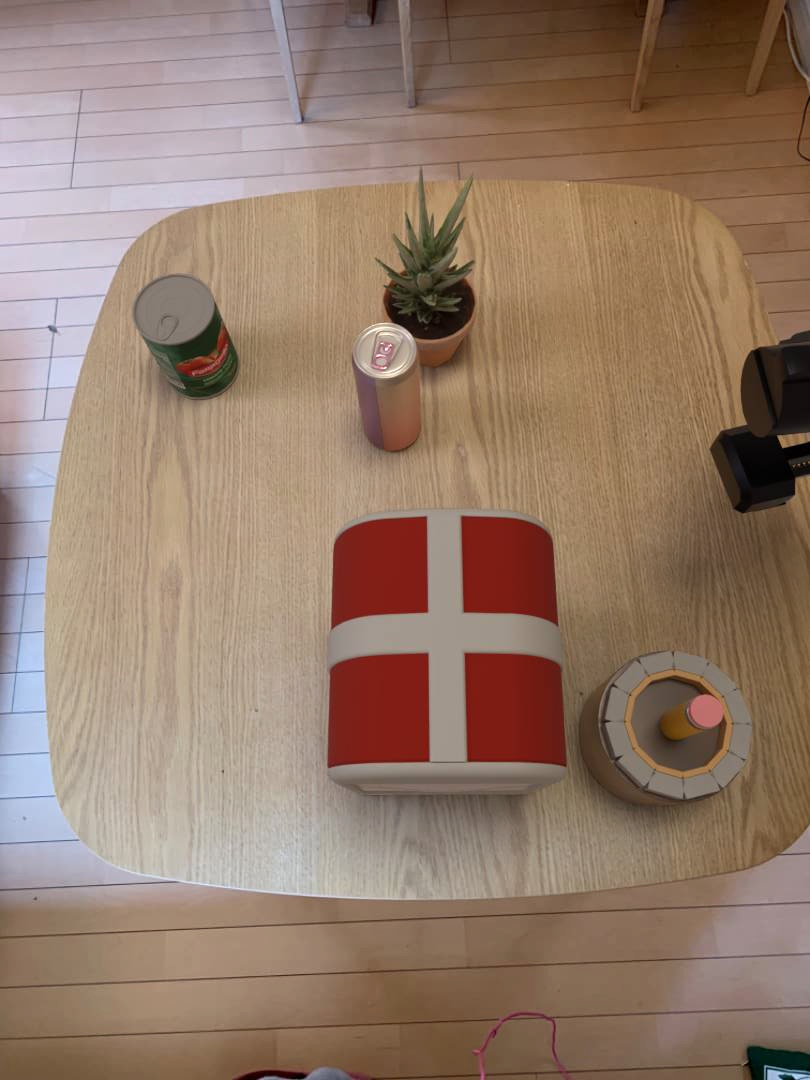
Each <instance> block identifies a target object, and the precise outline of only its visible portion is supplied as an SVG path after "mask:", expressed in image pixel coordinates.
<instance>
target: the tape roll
mask: <svg viewBox="0 0 810 1080" xmlns="http://www.w3.org/2000/svg"><path fill="white" fill-rule="evenodd" d="M664 651H665V652H661V653H657V654H653V655H649V656H645V657H641V658H639V659H638V660H637V661H636V660H635V661H634V662H633V663H632V664H631V665H630V666H629V667H628V668H627V669H626V670H625V671H624V672H623V673H622V674H621V675H620V676H619V677H618V678H617V679H616V680H615V681H614V682H613V683H612V684H611V685H610V687H611V688H609V689H608V692H607V697H606V701H605V706H604V710H603V715H602V720H601V721H602V722H605V723H604V724H603V725H602V729H603V732H604V735H605V739H606V742H607V745H608V748H609V751H610V755H611V758H612V759H613V758H617V757H618V758H617V759H616V760H615V764H616V765H617V766H618V767H619V768H620V769H621V770H622V771H623V772H624V773H625V774H626V775H627V776H629V777H630V778H631V779H632V780H633V781H634V782H635V783H636V784H637V785H638V786H639V787H644V790H646V791H649V792H653V793H656V794H659V795H663V796H666V797H670V798H673V799H676V800H678V799H681V800H685V799H690V798H694V797H698V796H701V795H705V794H709V793H713V792H717V791H720V789H722V788H724V787H725V786H726V785H727V784H728V783H729V782H730V781H731V780H732V779H733V777H734V776H735V775H736V774H737V773H738V772H739V773H740V771H741V770H742V769H743V767H744V766H745V765H746V762H745V761H748V760H749V753H750V749H751V741H752V735H753V729H754V726H753V725H751V723H753V720H752V716H751V714H750V712H749V709H748V707H747V703H746V701H745V698H744V696H743V693H742V690H741V688H737V687H738V684H737V683H736V682H735V681H734V680H733V679H732V678H731V677H729V676H728V675H727V674H726V673H725V672H724V671H723V670H722V669H721V668H719V667H718V666H717V665H716V664H715V663H714V662H713V661H709V659H708V658H705V657H701V656H698V655H695V654H691V653H687V652H684V651H679V650H664ZM671 651H673V652H671ZM708 661H709V662H708ZM707 662H708V664H707ZM669 678H671V679H675V680H679V681H682V682H686V683H689V684H693V685H695V686H696V687H697V688H698V689H699V690H700V691H701V692H702V693H703V694H704V695H711V696H713V697H715V698H716V699H717V700H718V701H719V702H720V703H721V705H722V707H723V718H722V720H721V722H720V724H721V728H720V734H719V740H718V745H717V750H716V751H715V752H714V753H713V754H712V755H711V756H710V757H709V759H708V760H707V761H706V762H705V763H704V764H703V765H702V766H701V767H698V768H695V769H691V770H687V771H683V772H681V771H678V770H674V769H671V768H668V767H664V766H661V765H657V764H656V763H655V762H654V761H653V760H652V759H651V758H650V757H649V756H648V755H647V754H646V753H645V752H644V751H643V750H642V749H641V748H640V747H639V746H638V743H637V740H636V737H635V734H634V731H633V728H632V725H631V717H632V712H633V707H634V702H635V698H636V697H637V696H638V695H639V694H640V693H641V692H642V691H643V689H644V688H645V687H646V686H647V685H648V684H649V683H653V682H657V681H661V680H665V679H669ZM736 688H737V689H736ZM734 689H736V690H734ZM748 724H749V725H748ZM744 760H745V761H744ZM739 773H738V774H739ZM738 774H737V775H738ZM724 789H725V788H724ZM720 792H721V791H720Z"/></svg>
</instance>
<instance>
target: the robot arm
mask: <svg viewBox="0 0 810 1080" xmlns="http://www.w3.org/2000/svg"><path fill="white" fill-rule="evenodd" d="M778 342H779V343H778V344H775V345H774V344H773V345H765V346H758V347H757V348H755V349H751V350H750V351H749V353H748V354H747V356H746V358H745V360H744V362H743V365H742V369H741V376H740V387H739V388H740V390H739V391H740V402H741V410H742V414H743V418H744V420H745V423H746V424H743V425H738V426H734V427H731V428H727V429H723V430H720V432H719V433H718V434H717V435H716V437H715V439H714V440H713V441H712V443H711V445H710V447H709V452H710V454H711V457H712V459H713V463H714V466H715V468H716V469H717V472H718V474H719V477H720V479H721V482H722V485H723V487H724V490H725V492H726V495H727V497H728V500H729V502H730V505H731V508H732V510H734V511H736V512H738V513H739V514H742V515H744V514H749V513H756V512H757V513H758V512H760V511H761V512H762V511H765V510H768V509H769V510H770V509H773V508H777V507H781V506H782V507H783V506H785V505H787V502H788V501H790V500H791V499H792V498H793V497H795V496H796V480H798V479H802V478H806V477H810V441H807V442H803V443H798V444H794V445H789V446H785V447H783V445H782V443H781V441H780V439H779V437H780V436H788V435H799V434H810V329H809V330H804V331H799V332H796V333H794V334H793V335H791V336H790V338H786V339H781V340H779V341H778Z"/></svg>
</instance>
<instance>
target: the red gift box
mask: <svg viewBox="0 0 810 1080" xmlns="http://www.w3.org/2000/svg"><path fill="white" fill-rule="evenodd" d="M554 550H555V547H554V538H553V535H552V532H551V530H550V529H549V527H547V525H546V524H545V523H544V522H543V521H541V519H539V518H537V517H535V516H533V515H531V514H527V513H525V512H521V511H517V510H512V509H511V510H510V509H502V508H501V509H499V508H498V509H497V508H474V507H473V508H471V507H469V508H468V507H442V508H441V507H440V508H439V507H437V508H436V507H435V508H434V507H433V508H412V509H395V510H394V509H393V510H381V511H374V512H370V513H366V514H363V515H360V516H357V517H355V518H353V519H351V520H349V521H348V522H346V523H345V524H344V525H343V526H342V527H341V528H340V529H339V530H338V531H337V533H336V534H335V537H334V540H333V549H332V576H331V577H332V579H331V580H332V582H331V614H330V615H331V616H330V617H331V618H330V631H329V633H328V637H327V657H326V659H327V662H326V670H327V673H328V675H329V687H328V689H329V691H328V728H327V730H328V731H327V765H326V766H327V776H328V778H329V780H330V781H332V782H333V783H335V784H336V785H338V786H340V787H342V788H344V789H347V790H349V791H350V792H353V793H355V794H357V795H360V796H455V795H456V796H469V795H471V796H472V795H473V796H477V795H478V796H480V795H482V796H484V795H489V796H490V795H491V796H492V795H493V796H497V795H505V796H510V795H513V796H515V795H520V796H521V795H524V796H525V795H529V794H531V793H535V792H537V791H539V790H542V789H545V788H547V787H551V786H553V785H556V784H558V783H560V782H562V781H563V780H564V779H566V776H567V773H568V768H567V767H568V762H567V760H568V759H567V744H566V727H565V726H566V725H565V712H564V711H565V709H564V695H563V693H564V692H563V677H562V672H563V670H564V668H565V664H564V663H565V661H564V649H563V647H564V646H563V633H562V631H561V628H560V627H559V612H558V598H557V596H558V595H557V584H556V583H557V581H556V567H555V566H556V564H555V551H554Z"/></svg>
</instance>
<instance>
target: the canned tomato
mask: <svg viewBox="0 0 810 1080" xmlns="http://www.w3.org/2000/svg"><path fill="white" fill-rule="evenodd" d="M131 317H132V322H133V325H134V328H135V329H136V331H138V333H139V335H140V336H141V338H142V339H143V342H144V343H145V345H146V346H147V348H148V349H149V351H150V353H151V355H152V356H153V358H154V360H155V361H156V363H157V365H158V366H159V368H160V369H161V371H162V373H163V375H164V376H165V378H166V380H167V381H168V384H169V385H170V387H171V388H172V389H173V390H174V391H175V392H176V393H177V394H178V395H180V396H182V397H184V398H187V399H190V400H207V399H211V398H214V397H217V396H219V395H221V394H222V393H224V392H226V391H227V390H228V389H229V388H230V387H231V386H232V385H233V383H234V382H235V381H236V379H237V376H238V374H239V370H240V357H239V354H238V352H237V350H236V348H235V346H234V343H233V341H232V338H231V336H230V334H229V333H230V332H229V331H228V328H227V326H226V324H225V322H224V319H223V316H222V314H221V311H220V309H219V308H218V305H217V302H216V300H215V298H214V295H213V292H212V290H211V288H210V287H209V286H208V285H207V284H206V282H204V281H203V280H201V279H200V278H198V277H196V276H194V275H191V274H188V273H181V272H175V273H174V272H173V273H168V274H164V275H160V276H158V277H156V278H154V279H152V280H150V281H149V282H148V283H146V284H145V285H144V286H143V287H142V288H141V289H140V290H139V291H138V293H137V295H136V296H135V298H134V300H133V303H132V307H131Z"/></svg>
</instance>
